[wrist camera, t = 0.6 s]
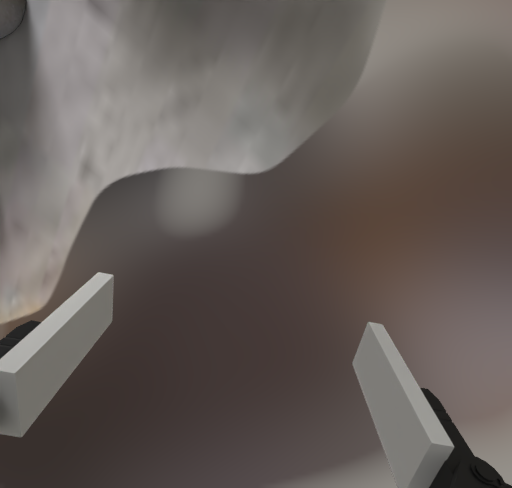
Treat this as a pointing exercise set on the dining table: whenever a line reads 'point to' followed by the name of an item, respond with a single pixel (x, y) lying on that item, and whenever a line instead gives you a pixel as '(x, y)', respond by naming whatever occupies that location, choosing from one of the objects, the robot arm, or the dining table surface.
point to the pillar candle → (10, 15)
